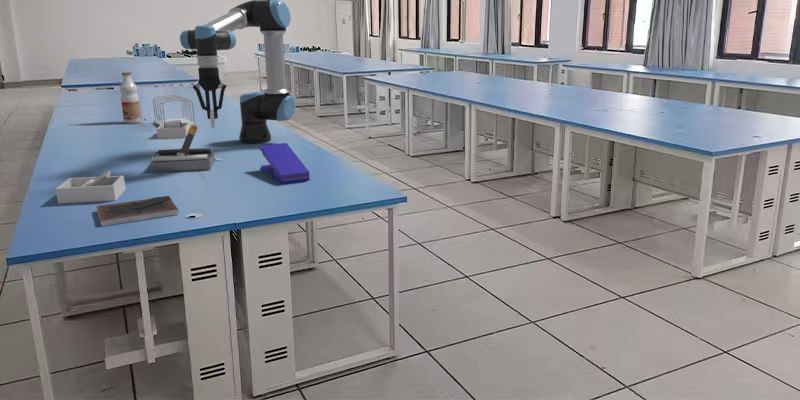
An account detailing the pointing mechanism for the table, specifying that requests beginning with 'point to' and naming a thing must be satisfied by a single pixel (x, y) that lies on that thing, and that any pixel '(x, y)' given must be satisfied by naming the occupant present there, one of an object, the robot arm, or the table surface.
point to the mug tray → (173, 131)
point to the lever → (189, 139)
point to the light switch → (97, 180)
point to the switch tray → (90, 190)
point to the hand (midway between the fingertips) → (213, 126)
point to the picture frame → (136, 210)
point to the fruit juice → (130, 100)
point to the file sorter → (183, 120)
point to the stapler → (284, 163)
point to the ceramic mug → (173, 124)
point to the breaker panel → (183, 163)
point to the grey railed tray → (177, 158)
